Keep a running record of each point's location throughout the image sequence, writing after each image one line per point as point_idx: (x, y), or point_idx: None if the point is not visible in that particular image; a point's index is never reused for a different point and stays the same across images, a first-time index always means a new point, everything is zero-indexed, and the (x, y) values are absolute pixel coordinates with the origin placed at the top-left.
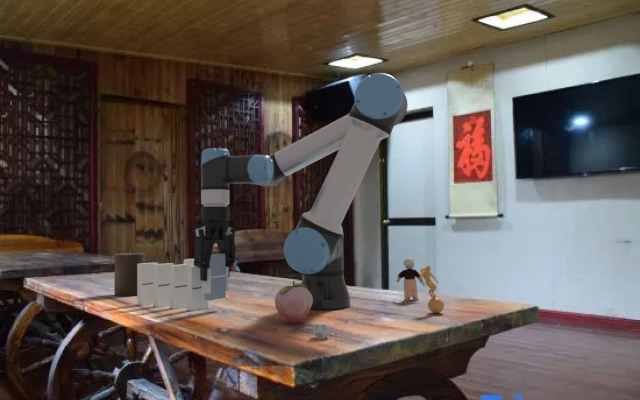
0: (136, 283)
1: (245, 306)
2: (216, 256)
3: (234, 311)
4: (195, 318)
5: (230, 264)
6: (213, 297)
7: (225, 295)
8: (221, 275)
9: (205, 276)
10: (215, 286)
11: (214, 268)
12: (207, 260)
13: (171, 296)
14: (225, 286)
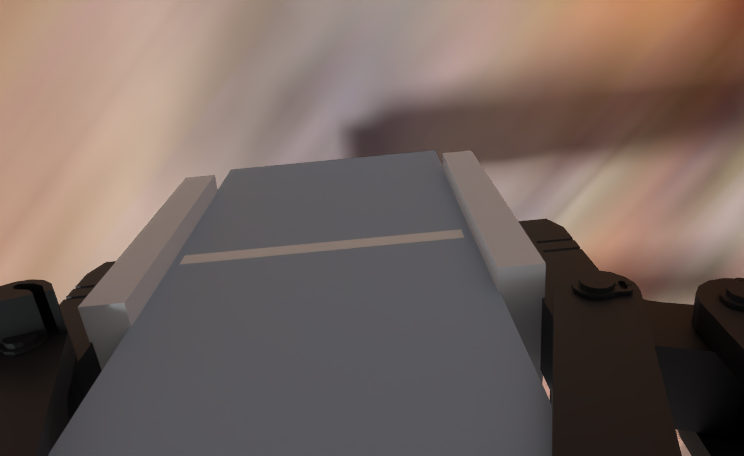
0: None
1: (29, 149)
2: (335, 448)
3: (247, 21)
4: (653, 15)
5: (26, 311)
6: (387, 160)
7: (228, 175)
8: (250, 256)
9: (546, 242)
10: (362, 198)
11: (386, 301)
12: (626, 352)
13: None
14: (208, 206)
